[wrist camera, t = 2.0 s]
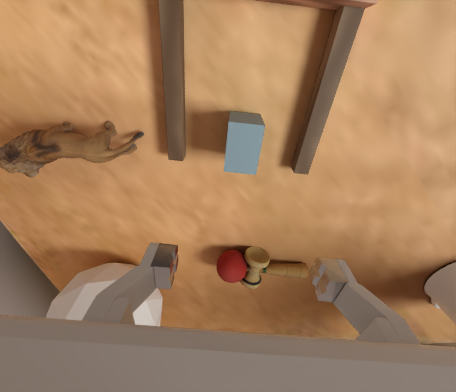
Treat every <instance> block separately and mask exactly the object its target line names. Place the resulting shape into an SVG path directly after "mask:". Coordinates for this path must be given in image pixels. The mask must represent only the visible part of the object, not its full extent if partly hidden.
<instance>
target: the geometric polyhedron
mask: <svg viewBox="0 0 456 392" xmlns="http://www.w3.org/2000/svg"><path fill="white" fill-rule="evenodd" d="M134 267H135V265H133V264H123V263H105V264H102V265H99V266H96V267H94V268H91V269H88V270H85V271H82V272H79V273H78V274H77V275H76V276H75V277H74V278H73V279H72V280H71V281H70V282H69V283H68V284H67V285H66V287H65V288H64V289H63V290H62V291H61V292H60V293H59V294H58V295H57V296H56V297H55V299H54V300H53V301H52V303H51V305H50V308H49V311H48V313H47V315H46V318H52V319H65V320H79V321H82V319H83V317H84V315H85V314H86V312H87V310H88V309H89V307H90V305H91V304H92V302H93V300H94V298H95V297H96V295H97V294H98V293H100V292H101V291H103V290H104V289H105V288H107V287H108V286H109V285H111V284H112V283H114V282H115V281H116V280H118V279H119V278H120V277H122V276H123V275H124V274H126V273H127V272H129V271H130V270H131V269H133V268H134ZM162 300H163V297H162V295H161V293H160V291H159V288H156V289H155V291H154V292H153V293H152V294H151V295H150V296H149V297H148V298H147V299H146V300H145V301H144V302H143V303H142V304H141V305H140V306H139V307H138V308H137V309H136V310H135V311H134V312H133V317H134V321H135V325H149V326H160V323H161V312H162Z"/></svg>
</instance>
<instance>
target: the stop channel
mask: <svg viewBox="0 0 456 392" xmlns="http://www.w3.org/2000/svg"><path fill="white" fill-rule="evenodd" d="M256 1H265V2H273V3H281V4H289V5H297V6H306V7H314V8H322V9H330V10H336V13H335V16H334V20H333V23H332V27H331V30H330V34H329V37H328V40H327V44H326V47H325V51H324V54H323V58H322V61H321V65H320V68H319V72H318V75H317V79H316V82H315V86H314V89H313V93H312V96H311V100H310V103H309V107H308V110H307V113H306V117H305V120H304V124H303V127H302V131H301V134H300V138H299V141H298V145H297V148H296V152H295V155H294V159H293V162H292V166H291V168H292V170H293V172H294V173H300V174H308V173H309V170H310V167H311V164H312V161H313V158H314V155H315V152H316V149H317V146H318V143H319V141H320V138H321V135H322V132H323V129H324V126H325V123H326V120H327V117H328V114H329V111H330V108H331V106H332V103H333V100H334V97H335V94H336V91H337V88H338V85H339V82H340V79H341V76H342V73H343V71H344V68H345V65H346V62H347V59H348V56H349V53H350V50H351V47H352V44H353V41H354V38H355V36H356V33H357V30H358V27H359V24H360V21H361V18H362V15H363V12H364V9H365V8H367V7H369V6H372V5H374V4H376V3H377V1H378V0H256ZM159 16H160V32H161V48H162V63H163V79H164V95H165V111H166V127H167V143H168V159H169V160H177V161H183V160H184V158H185V156H186V148H185V80H184V13H183V0H159Z"/></svg>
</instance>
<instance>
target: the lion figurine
mask: <svg viewBox="0 0 456 392" xmlns="http://www.w3.org/2000/svg"><path fill="white" fill-rule="evenodd" d="M105 128H106V129H107V130H106V131H102V132H98V133H96V134H95V135H93V136H90V137H89V138H88V137H86V136H83V135H81V134H76V133H64V132H70V131H71V130H72V129H73V126H72V125H71V124H70V123H69V122H64V123H63V126H57V127H52V128H51V129H49V130H32V131H30V132H25V133H23V134H22V135H21V136H18V137H17V138H16V139H13V140H11V141H10V142H9V143H8V144H5V145H4V146H3V147H0V167H1V168H2V169H5V170H6V171H8V172H9V173H13V172H21V173H24V174H25V175H26V176H28V177H34V176H35V175H37V174H38V173H39V168H42V167H43V166H44V165H45V164H47V163H50V162H53V161H55V160H57V159H58V158H63V157H64V158H83V159H85V160H87V161H90V162H94V163H102V162H107V161H110V160H112V159H114V158H116V157H118V156H121V155H125V154H130V153H132V152H133V151H135V150H136V149H137V147H136V145H135V144H134V142H135V141H136V140H137V139H138V138H141V137H142V136H143V135H144V133H143V132H141V133H138V134H136V135H135V136H134V137H133V138H132V139H131V140H130V141H129V142H128V143H126V144H125V145H123V146H121V147H119V148H117V149H114V150H112V149H110V148H109V144H110V139H111V136H113V135H116V130H115V126H114V124H113V123H111V122H108V121H107V122H106V123H105Z"/></svg>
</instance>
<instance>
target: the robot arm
mask: <svg viewBox="0 0 456 392" xmlns="http://www.w3.org/2000/svg"><path fill="white" fill-rule="evenodd" d="M177 252H178V245H171V244H162V243H152V242H151V243H150V244H149V246H148V248H147V250H146V253H145V255H144V257H143V259H142V261H141V263H140V266H135V267H134V268H133V269H131V270H130V271H129V272H127V273H126V274H124V275H123V276H122V277H120V278H119V279H118V280H116V281H115V282H114V283H112V284H111V285H109V286H108V287H107V288H105V289H104V290H103V291H101V292H100V293H98V294H97V295H96V297H95V298H94V300H93V302H92V304H91V305H90V307H89V309H88V310H87V312H86V314H85V315H84V317H83V319H82V321H79V320H65V319H52V318H38V317H24V316H10V315H0V392H456V347H444V346H430V345H421V343H420V342H419V340H418V339H417V337H416V336H415V334H414V333H413V331H412V330H411V328H410V327H409V325H408V324H407V322H406V321H405V319H404V318H402V317H401V316H400V315H399V314H397V313H396V312H395V311H394V310H392V309H391V308H390V307H389V306H387V305H386V304H385V303H384V302H382V301H381V300H380V299H379V298H377V297H376V296H375V295H374V294H372V293H371V292H370V291H369V290H367V289H366V288H365V287H364V286H362V285H361V284H358V283H357V281H356V279H355V277H354V276H353V274H352V272H351V270H350V269H349V267H348V265H347V263H346V262H345V261H344V260H343V259H332V258H319V257H318V258H316V259H315V261H314V262H315V265H314V266H312V267H311V270H310V279H311V282H312V283H313V284H314V285H315V286H316V287H315V293H316V296H317V298H318V301H325V302H333V304H334V305H335V306H336V307H337V308H338V310H339V311H340V312H341V313H342V314H343V315H344V316H345V318H346V319H347V320H348V321H349V322H350V323H351V324H352V325H353V327H354V328H355V329H356V330H357V331H358V332H359V333H360V335H359V336H358V337H357V338H356V339H355V340H346V339H332V338H318V337H304V336H290V335H276V334H261V333H247V332H233V331H219V330H205V329H191V328H177V327H163V326H149V325H135V321H134V317H133V312H134V311H135V310H136V309H137V308H138V307H139V306H140V305H141V304H142V303H143V302H144V301H145V300H146V299H147V298H148V297H149V296H150V295H151V294H152V293H153V292H154V291H155V289H156V288H159V289H171V288H172V285H173V281H174V273H175V272H176V270H177V265H178V254H177ZM424 290H425V292H426V294H427V295H428V296H430V297H431V303H432V304H433V305H434V306H435V307H436V308H441V310H442V311H443V312H444V313H445V314H446V315H447V316H448V317H449V318H450V319H451V320H452V321H453V322H454V323H455V324H456V262H455V263H452V264H450V265H448V266H446V267H444V268H442V269H440V270H439V271H437V272H436V273H434V274H433V275H432V276H431V277H430V278H429V279H428V280H427V282H426V284H425V287H424Z"/></svg>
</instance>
